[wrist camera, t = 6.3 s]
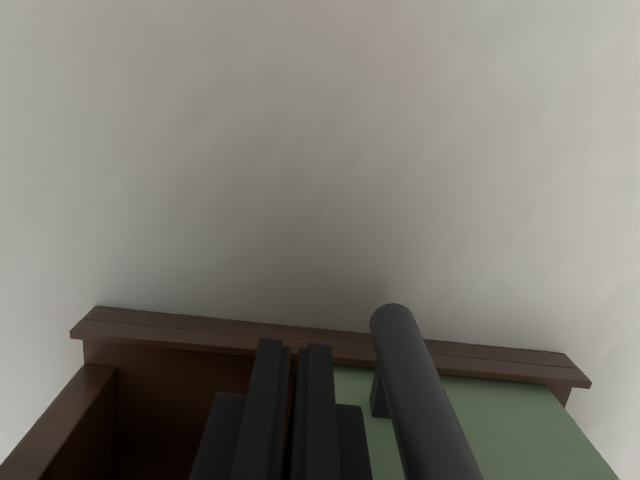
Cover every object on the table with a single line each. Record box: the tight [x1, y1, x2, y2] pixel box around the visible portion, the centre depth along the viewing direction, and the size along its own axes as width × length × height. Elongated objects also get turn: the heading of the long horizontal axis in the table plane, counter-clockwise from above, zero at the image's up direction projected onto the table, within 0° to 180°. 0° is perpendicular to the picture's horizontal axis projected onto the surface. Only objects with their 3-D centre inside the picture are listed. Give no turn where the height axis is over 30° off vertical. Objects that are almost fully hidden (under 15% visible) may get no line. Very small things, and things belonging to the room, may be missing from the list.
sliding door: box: [333, 303, 620, 480], centre depth 12 cm, size 4×9×8 cm, turn 83°
